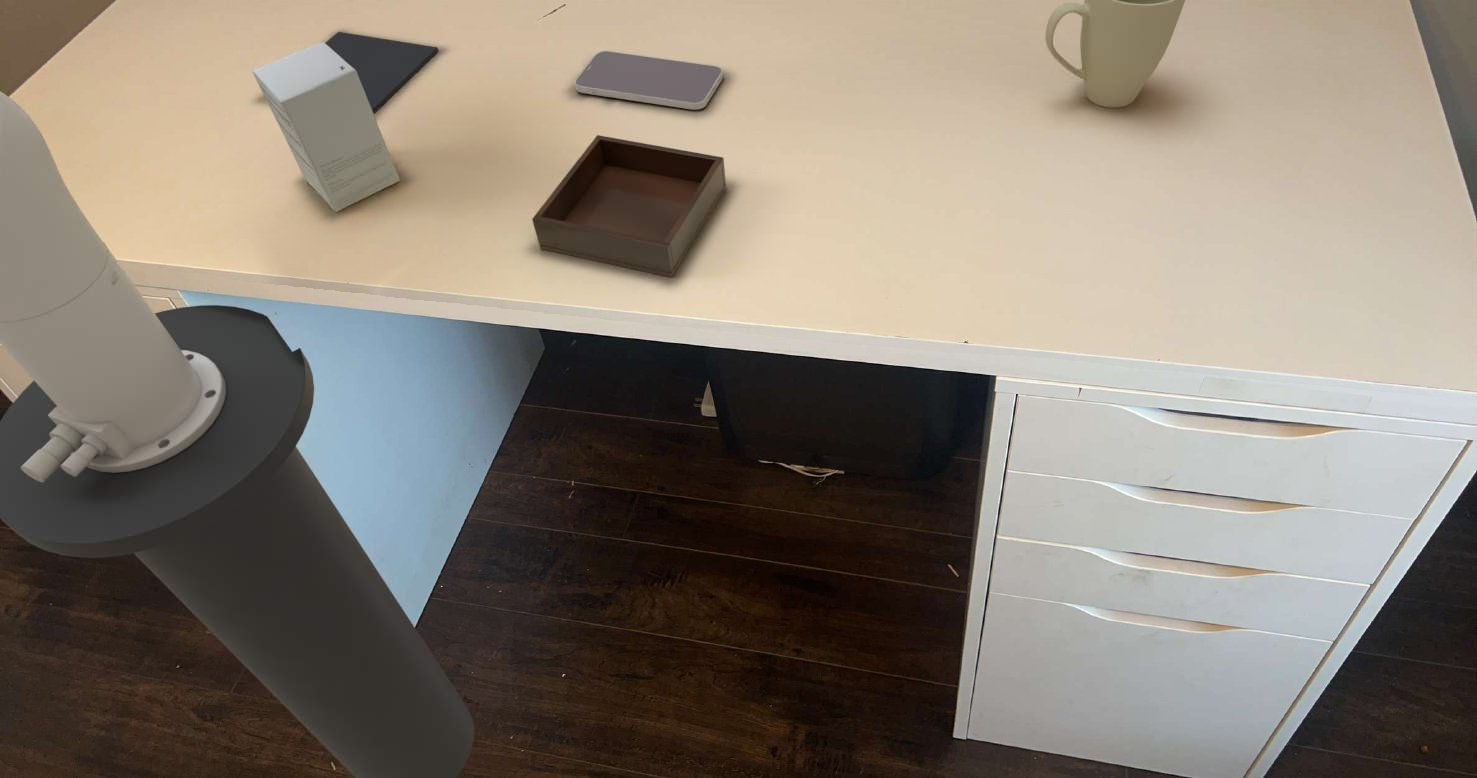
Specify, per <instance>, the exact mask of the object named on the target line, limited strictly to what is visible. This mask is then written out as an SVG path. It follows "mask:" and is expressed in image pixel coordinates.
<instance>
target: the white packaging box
mask: <svg viewBox="0 0 1477 778" xmlns="http://www.w3.org/2000/svg"><path fill="white" fill-rule="evenodd" d="M325 43H326V42H324V41H319V42H317V43H314V44H312V45H310V46H308V47H307V46H306V47H305V48H303V49H301V50H298V51H295V52H294V53H291V54H287V55H286V56H284V57H281V58H278V59H276V60H274V61H271V62H269V63H266V64H265V65H262V66H260V67H257V68H254V69H252V70H251V72H252V74H253V77H254V79H255V81H256V83H257V84H258V87H259V88H260V90H261V93H262V94H263V97H264V99H265V101H266V103H267V105H268V107H269V110H270V111H271V113H272V115H273V117H274V119H275V121H276V123H277V125H278V127H279V129H280V131H281V133H282V135H283V137H284V140H285V141H286V144H287V145H288V148H289V150H290V152H291V154H292V156H293V158H294V160H295V162H296V164H297V166H298V169H299V171H300V172H301V174H302V176H303V178H304V180H305V181H306V182H307V183H308V185H310V186H311V188H312V189H313V190H315V192H316V193H317V194H318V195H319V196H320V197H321V198H322V199H323V201H324V202H325V203H326V204H327V205H328V206H329V207H330V208H331V209H332V210H333V211H334V212H335V213H338V212H339V211H341V210H344V209H345V208H347V207H350V206H351V205H354V204H355V203H357V202H360V201H361V200H363V199H366V198H367V197H370V196H372V195H373V194H376V193H378V192H380V191H382V190H383V189H386V188H388V187H390V186H392V185H394V184H397V183H398V182H400V181H401V179H400V176H399V174H398V172H397V168H396V166H395V164H394V162H393V158H392V157H391V153H390V152H389V149H388V147H387V144H386V142H385V139H384V137H383V134H382V132H381V129H380V126H379V124H378V121H377V119H376V116H375V113H374V114H373V111H372V109H371V106H370V104H369V101H368V99H367V96H366V94H365V91H364V89H363V86H362V84H361V82H360V79H359V76H358V74H357V71H356V70H355V69H354V68H353V67H351V66H350V65H349V64H348V63H347V62H346V61H344V60H343V59H342V58H341V57H340V56H339V55H338V54H337V53H335V52H334V51H333V50H332V49H331V48H330V47H329V46H327V45H326V44H325Z"/></svg>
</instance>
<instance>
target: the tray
mask: <svg viewBox="0 0 1477 778" xmlns="http://www.w3.org/2000/svg"><path fill="white" fill-rule="evenodd" d="M726 189H727V181H726V169H725V159H724V157H723V156H718V155H711V154H706V153H700V152H695V151H691V150H690V151H689V150H683V149H677V148H673V147H666V146H661V145H655V144H649V143H644V142H639V141H634V140H633V141H632V140H628V139H623V138H622V139H621V138H616V137H610V136H604V135H599V134H597V135H596V136H595V137H594V139H592V141H591V143H590V144H589V145H588V146H587V148H586V149H585V151H583V153H582V154H581V155H580V157H579V158H578V159H577V160H576V162H575V163H574V164H573V166H572V167H571V168H570V170H569V171H568V172H567V173H566V175H565V176H564V177H563V178H562V179H561V181H560V182H559V184H558V185H557V187H556V188H555V189H554V190H553V191H552V193H551V194H550V195H549V197H548V198H547V199H546V200H545V202H544V203H543V204H542V205H541V207H540V208H539V209H538V211H537V212H536V213H535V215H534V216H533V217H532V218H531V219H532V224H533V227H534V231H535V235H536V238H537V241H538V245H539V249H540V250H545V251H548V252H553V253H557V254H563V255H567V256H571V257H576V258H581V259H586V260H589V261H594V262H600V263H604V264H608V265H612V266H618V267H622V268H626V269H627V268H628V269H631V270H635V271H640V272H645V273H649V274H654V275H659V276H664V277H667V278H673V276H674V275H675V274H676V271H677V270H678V268H679V266H680V265H681V263H682V262H683V260H684V258H685V256H686V254H687V253H688V251H689V250H690V248H691V247H692V245H693V244H694V242H695V240H696V238H697V237H698V235H699V234H700V232H701V231H702V228H703V227H704V225H705V223H706V222H707V220H708V219H709V217H710V215H711V214H712V212H713V210H714V208H716V205H717V204H718V202H719V201H720V199H721V197H722V196H723V194H724V193H725V190H726Z"/></svg>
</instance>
